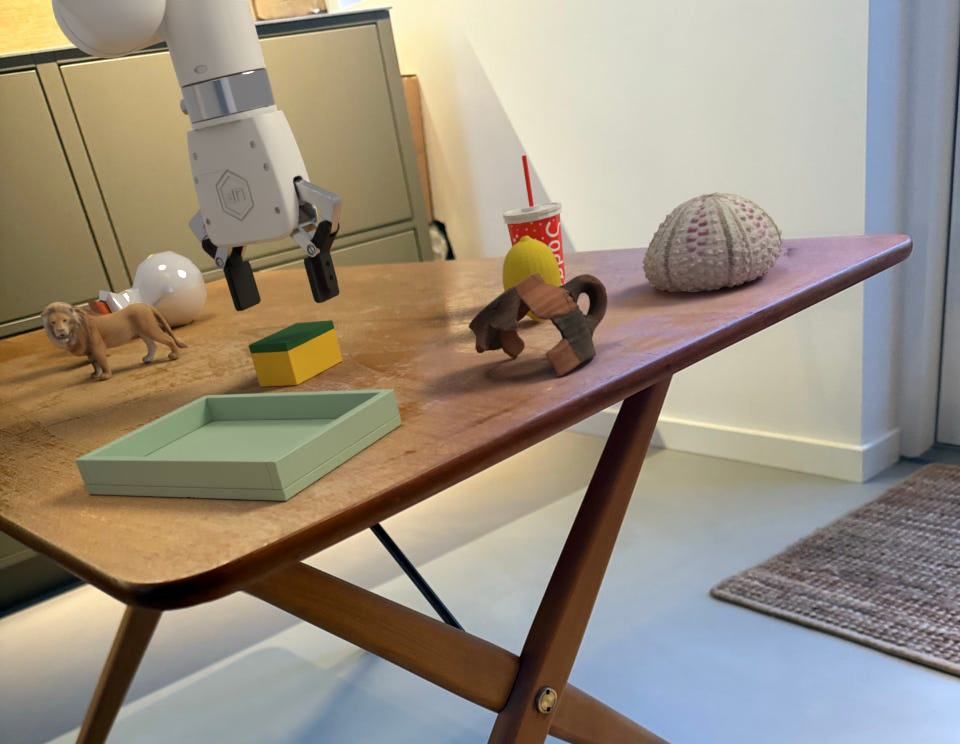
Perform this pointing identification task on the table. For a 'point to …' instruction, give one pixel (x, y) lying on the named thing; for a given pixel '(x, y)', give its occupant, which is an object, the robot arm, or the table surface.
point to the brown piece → (544, 318)
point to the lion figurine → (106, 332)
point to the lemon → (530, 265)
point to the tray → (242, 445)
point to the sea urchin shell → (712, 244)
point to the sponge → (295, 353)
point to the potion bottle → (161, 289)
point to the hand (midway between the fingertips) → (287, 303)
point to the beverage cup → (537, 223)
